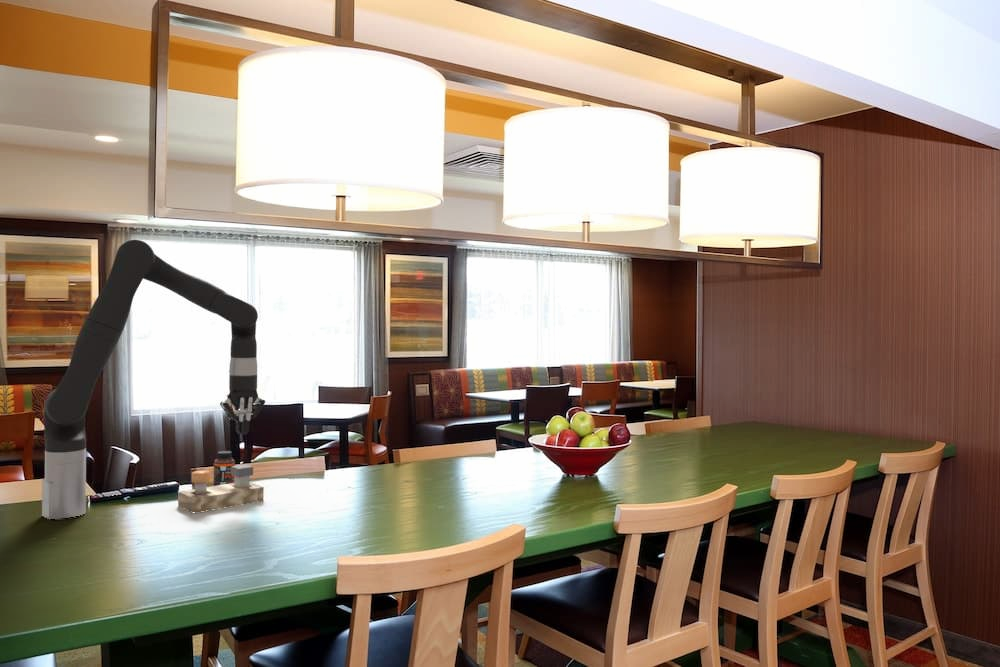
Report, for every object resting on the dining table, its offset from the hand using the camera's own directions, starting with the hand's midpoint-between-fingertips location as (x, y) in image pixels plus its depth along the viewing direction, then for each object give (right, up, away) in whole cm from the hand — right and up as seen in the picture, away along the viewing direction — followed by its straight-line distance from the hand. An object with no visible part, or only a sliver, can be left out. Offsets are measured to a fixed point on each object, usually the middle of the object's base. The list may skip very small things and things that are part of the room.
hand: (242, 433), depth 212 cm
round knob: (-9, -15, -8) cm, 19 cm away
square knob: (0, -15, +1) cm, 15 cm away
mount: (-5, -19, -4) cm, 20 cm away
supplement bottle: (-10, -19, +12) cm, 24 cm away
